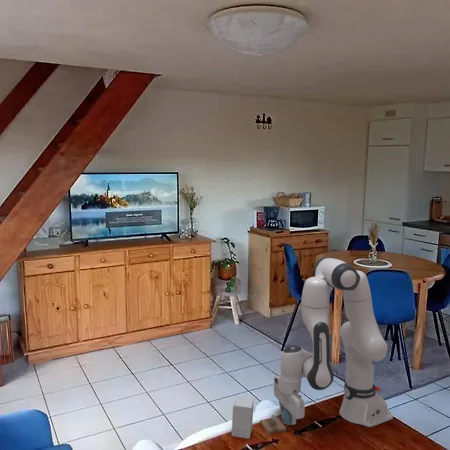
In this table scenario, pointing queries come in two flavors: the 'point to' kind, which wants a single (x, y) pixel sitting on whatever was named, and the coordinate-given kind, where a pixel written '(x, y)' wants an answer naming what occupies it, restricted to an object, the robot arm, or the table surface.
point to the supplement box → (242, 417)
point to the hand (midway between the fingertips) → (287, 417)
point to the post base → (273, 425)
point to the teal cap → (286, 416)
